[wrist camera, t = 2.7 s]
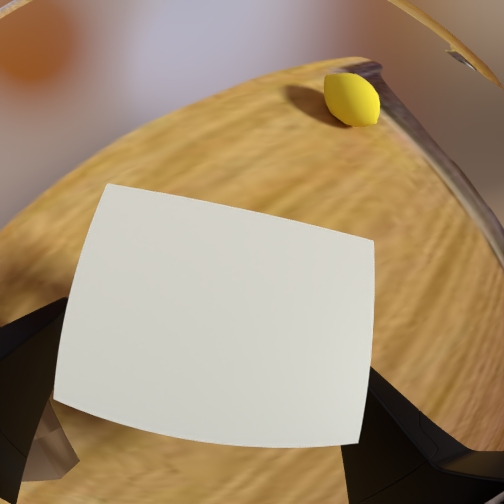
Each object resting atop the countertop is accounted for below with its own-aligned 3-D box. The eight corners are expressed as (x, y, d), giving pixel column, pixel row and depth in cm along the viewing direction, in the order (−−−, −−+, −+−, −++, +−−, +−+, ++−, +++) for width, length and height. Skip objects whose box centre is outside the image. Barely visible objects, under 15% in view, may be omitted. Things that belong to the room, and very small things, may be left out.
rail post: (231, 371, 16) (359, 444, 3) (165, 359, 15) (51, 400, 2) (238, 324, 17) (374, 240, 4) (173, 311, 16) (106, 182, 3)
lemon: (370, 128, 27) (399, 102, 22) (349, 147, 25) (382, 117, 20) (326, 86, 27) (350, 55, 22) (300, 98, 25) (325, 63, 20)
